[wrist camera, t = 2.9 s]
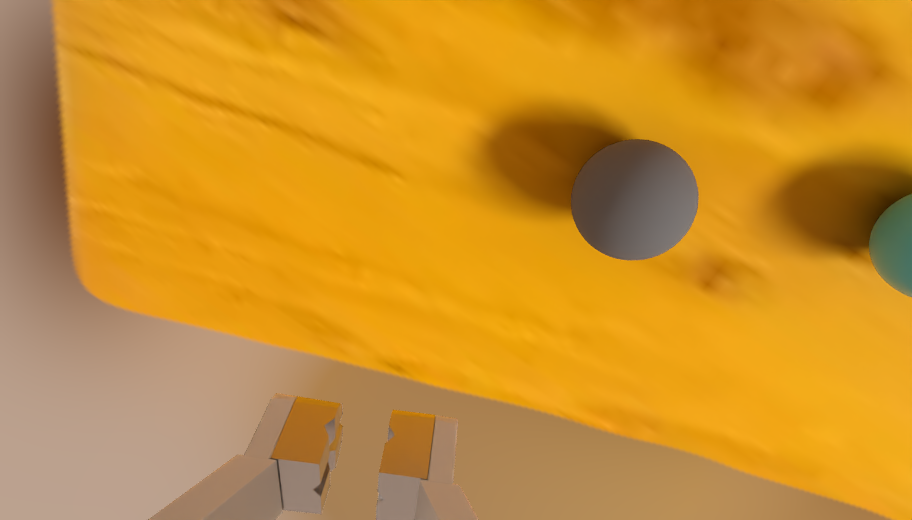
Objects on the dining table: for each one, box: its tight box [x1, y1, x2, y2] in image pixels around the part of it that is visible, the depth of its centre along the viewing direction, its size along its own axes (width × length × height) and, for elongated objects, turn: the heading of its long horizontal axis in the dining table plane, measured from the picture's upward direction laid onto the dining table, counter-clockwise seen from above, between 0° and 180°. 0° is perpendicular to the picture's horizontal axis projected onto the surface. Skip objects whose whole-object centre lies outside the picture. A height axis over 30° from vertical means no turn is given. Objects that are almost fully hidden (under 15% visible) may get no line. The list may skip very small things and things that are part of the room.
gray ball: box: [571, 139, 698, 260], centre depth 24 cm, size 6×6×6 cm
